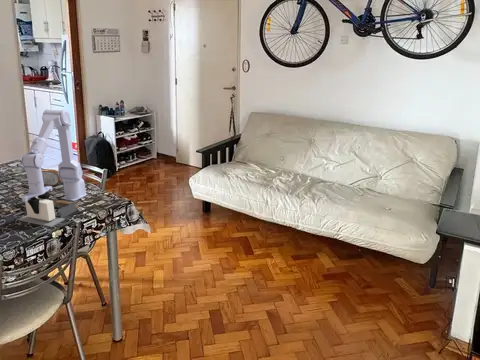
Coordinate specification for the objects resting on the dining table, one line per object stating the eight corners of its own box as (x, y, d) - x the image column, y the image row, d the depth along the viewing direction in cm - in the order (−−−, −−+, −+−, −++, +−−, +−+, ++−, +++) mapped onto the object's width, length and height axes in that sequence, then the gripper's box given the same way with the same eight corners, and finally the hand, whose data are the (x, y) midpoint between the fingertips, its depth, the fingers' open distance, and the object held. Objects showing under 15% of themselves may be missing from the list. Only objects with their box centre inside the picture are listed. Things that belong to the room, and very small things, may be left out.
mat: (33, 213, 199) (32, 212, 199) (64, 219, 192) (64, 218, 192) (18, 220, 192) (18, 219, 192) (50, 227, 185) (50, 226, 185)
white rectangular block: (34, 213, 195) (31, 196, 193) (55, 218, 191) (52, 200, 188) (27, 216, 192) (24, 199, 190) (49, 221, 188) (46, 203, 185)
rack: (46, 205, 208) (45, 197, 207) (76, 210, 202) (75, 202, 200) (30, 212, 200) (29, 204, 198) (61, 218, 194) (60, 210, 192)
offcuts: (56, 202, 210) (55, 198, 210) (78, 207, 206) (78, 203, 205) (51, 205, 208) (51, 201, 207) (73, 209, 203) (73, 205, 202)
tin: (63, 184, 235) (60, 169, 232) (60, 186, 232) (57, 171, 229) (35, 183, 236) (33, 168, 233) (32, 185, 233) (30, 170, 230)
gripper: (41, 175, 194) (46, 204, 199) (14, 185, 181) (19, 216, 186) (54, 177, 192) (58, 206, 196) (27, 188, 179) (32, 219, 183)
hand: (40, 211), depth 191 cm, fingers closed on white rectangular block, 3 cm apart
